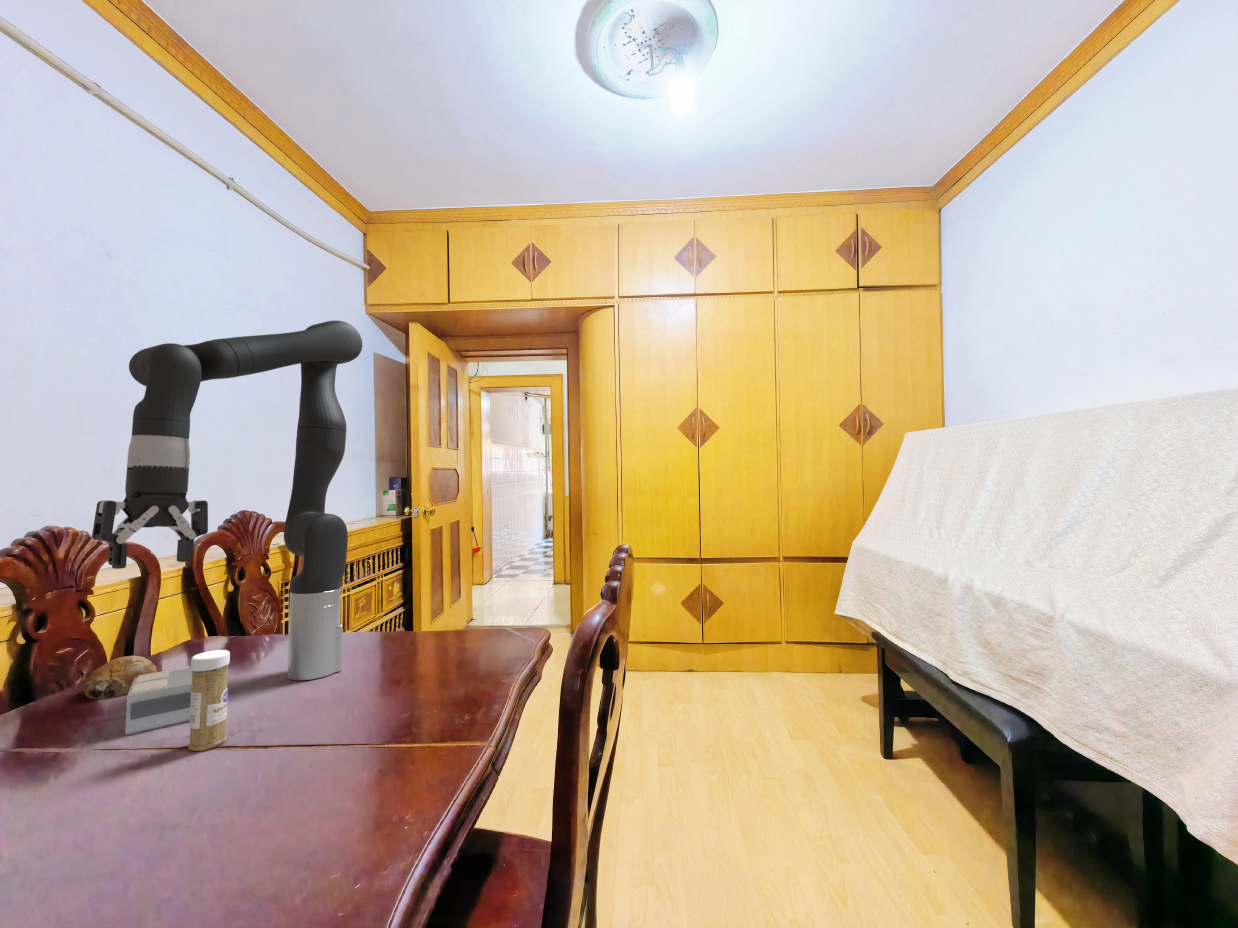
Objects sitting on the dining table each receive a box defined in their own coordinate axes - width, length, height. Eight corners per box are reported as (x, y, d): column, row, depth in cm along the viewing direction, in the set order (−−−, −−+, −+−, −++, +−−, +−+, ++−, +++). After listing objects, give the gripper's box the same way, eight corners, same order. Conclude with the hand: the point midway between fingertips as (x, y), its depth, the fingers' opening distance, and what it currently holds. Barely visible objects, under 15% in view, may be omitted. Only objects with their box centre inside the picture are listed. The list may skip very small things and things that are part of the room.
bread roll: (157, 705, 97) (179, 662, 101) (96, 701, 89) (122, 654, 92) (126, 698, 100) (148, 656, 104) (64, 694, 92) (90, 649, 95)
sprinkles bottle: (225, 746, 74) (228, 654, 75) (184, 755, 72) (188, 660, 72) (228, 733, 78) (231, 646, 79) (190, 742, 75) (193, 652, 76)
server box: (222, 694, 93) (223, 659, 93) (223, 713, 85) (224, 675, 85) (133, 713, 85) (134, 675, 86) (124, 736, 77) (126, 694, 78)
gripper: (193, 468, 90) (187, 559, 88) (87, 462, 76) (79, 569, 75) (221, 467, 87) (215, 560, 86) (117, 461, 74) (108, 571, 73)
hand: (152, 564), depth 80 cm, fingers open, 8 cm apart
